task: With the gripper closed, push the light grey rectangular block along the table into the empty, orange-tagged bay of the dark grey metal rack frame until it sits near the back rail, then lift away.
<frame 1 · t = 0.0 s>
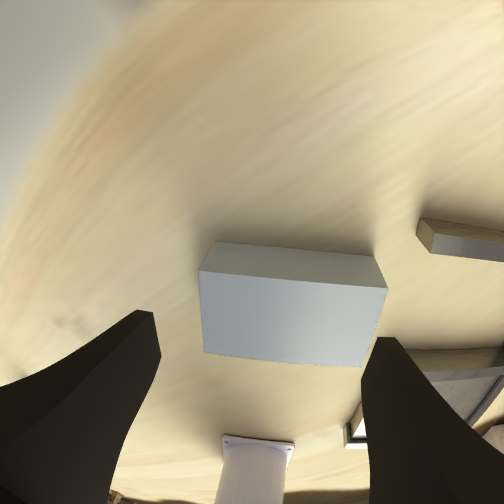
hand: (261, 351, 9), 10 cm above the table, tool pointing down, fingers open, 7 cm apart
skincare box: (488, 437, 27), on the table
rack: (444, 354, 21), on the table
eiffel tower: (116, 494, 59), on the table
light grey rectangular block: (291, 287, 20), on the table
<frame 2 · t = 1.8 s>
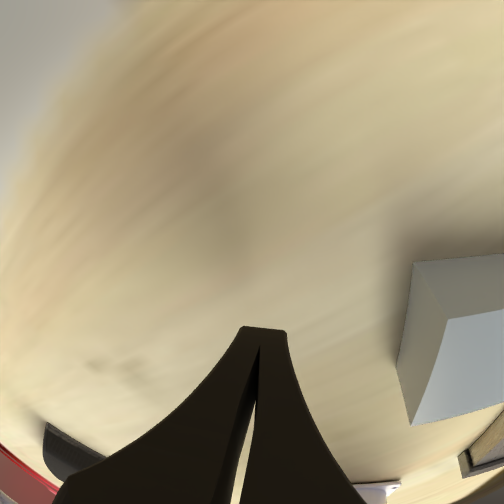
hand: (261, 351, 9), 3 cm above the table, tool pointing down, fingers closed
light grey rectangular block: (489, 305, 12), on the table
external hard drive: (92, 463, 30), on the table
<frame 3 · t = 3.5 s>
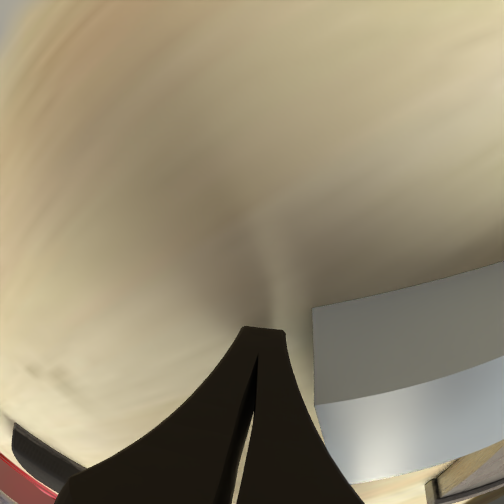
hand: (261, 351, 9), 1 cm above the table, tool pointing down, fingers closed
light grey rectangular block: (447, 337, 10), on the table, touching gripper
external hard drive: (64, 465, 28), on the table
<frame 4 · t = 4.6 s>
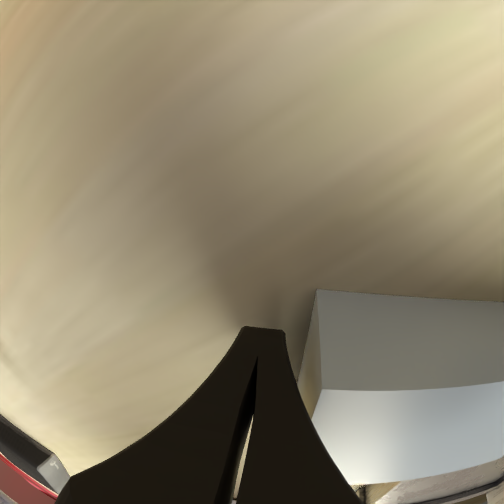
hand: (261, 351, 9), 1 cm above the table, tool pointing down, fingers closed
light grey rectangular block: (424, 360, 10), on the table, touching gripper
external hard drive: (34, 448, 29), on the table
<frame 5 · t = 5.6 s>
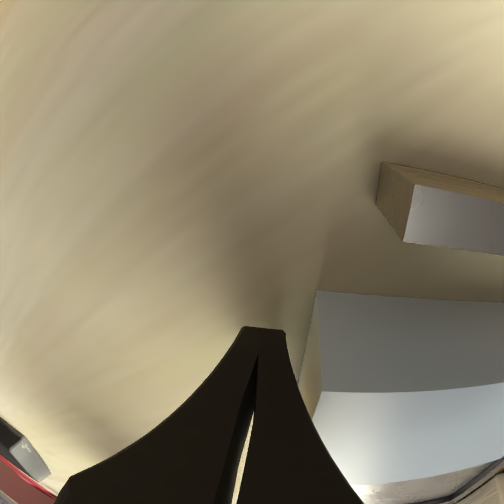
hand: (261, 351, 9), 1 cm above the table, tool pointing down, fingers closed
skincare box: (490, 483, 18), on the table
rack: (437, 417, 12), on the table
light grey rectangular block: (424, 361, 10), on the table
external hard drive: (13, 435, 30), on the table
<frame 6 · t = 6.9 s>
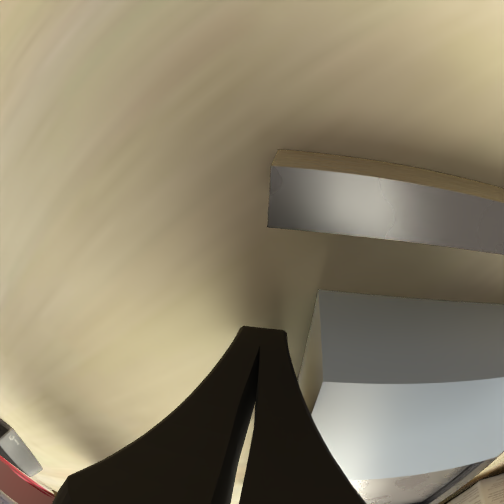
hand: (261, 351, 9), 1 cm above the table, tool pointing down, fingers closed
skincare box: (474, 488, 18), on the table
rack: (391, 420, 12), on the table
light grey rectangular block: (422, 357, 10), on the table
external hard drive: (5, 430, 30), on the table
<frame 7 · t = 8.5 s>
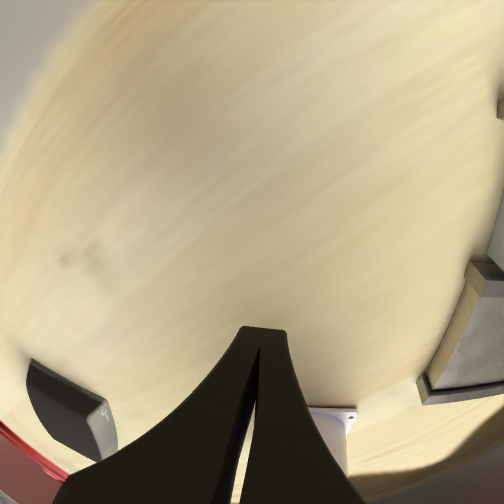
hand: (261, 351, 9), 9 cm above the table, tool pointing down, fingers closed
external hard drive: (79, 412, 34), on the table
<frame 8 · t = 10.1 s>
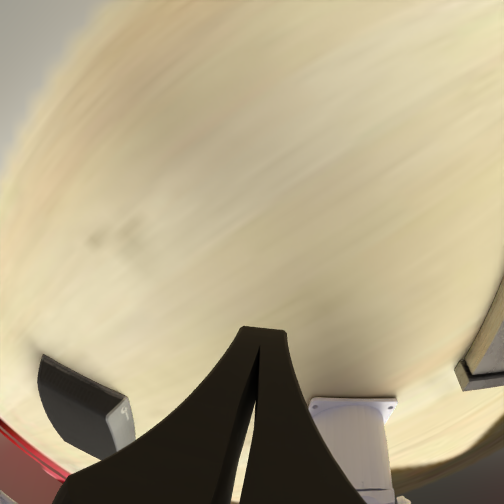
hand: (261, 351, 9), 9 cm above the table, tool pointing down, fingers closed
external hard drive: (93, 411, 33), on the table
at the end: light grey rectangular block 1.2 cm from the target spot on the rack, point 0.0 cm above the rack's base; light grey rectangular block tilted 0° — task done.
